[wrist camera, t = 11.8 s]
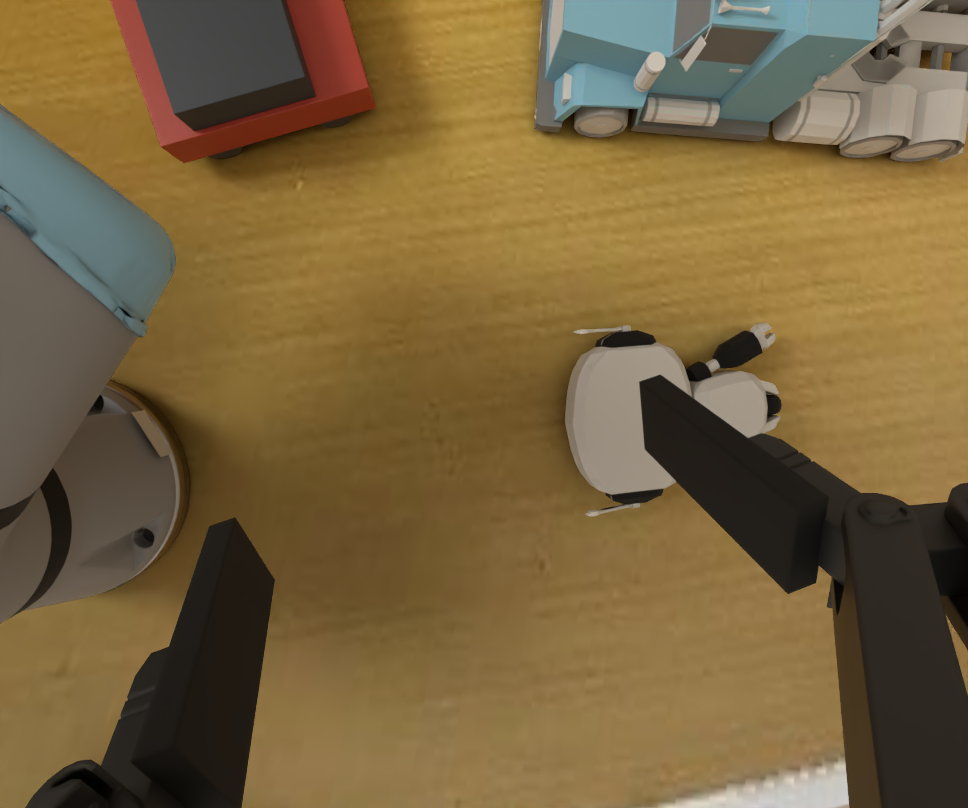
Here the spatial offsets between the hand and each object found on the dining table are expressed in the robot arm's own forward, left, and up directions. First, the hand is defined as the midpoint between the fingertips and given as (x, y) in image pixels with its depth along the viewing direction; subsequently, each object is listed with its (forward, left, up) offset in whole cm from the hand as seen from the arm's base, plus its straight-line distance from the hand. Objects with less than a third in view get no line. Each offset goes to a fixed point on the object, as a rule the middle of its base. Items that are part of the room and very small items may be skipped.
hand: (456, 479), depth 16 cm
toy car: (-6, +21, -18) cm, 28 cm away
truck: (+26, +18, -21) cm, 38 cm away
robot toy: (+14, -4, -21) cm, 25 cm away
